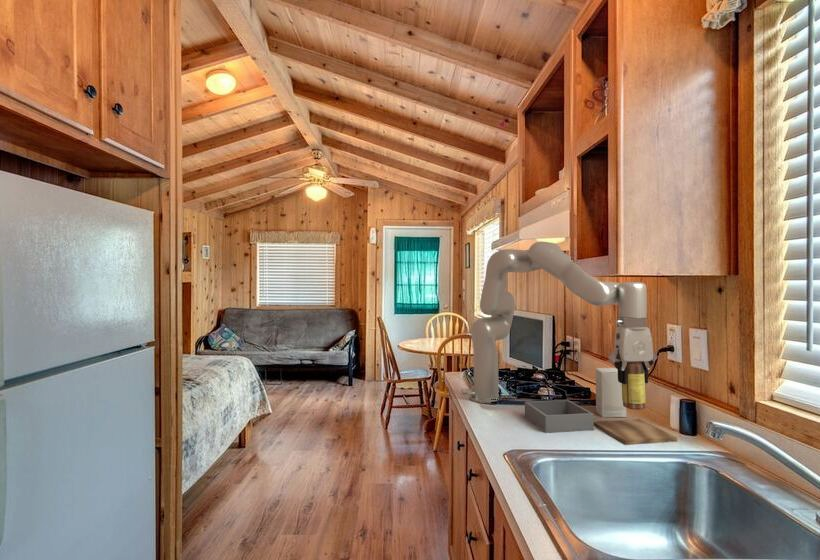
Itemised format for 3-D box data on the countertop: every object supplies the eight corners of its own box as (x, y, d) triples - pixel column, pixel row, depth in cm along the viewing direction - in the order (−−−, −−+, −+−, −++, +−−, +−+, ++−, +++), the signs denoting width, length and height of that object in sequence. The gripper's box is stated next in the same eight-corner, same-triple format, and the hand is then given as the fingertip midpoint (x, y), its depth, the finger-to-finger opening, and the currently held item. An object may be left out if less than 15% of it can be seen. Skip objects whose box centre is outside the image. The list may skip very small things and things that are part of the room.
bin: (545, 432, 129) (545, 416, 129) (524, 416, 144) (524, 401, 144) (593, 430, 131) (593, 413, 131) (567, 414, 146) (567, 399, 146)
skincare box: (619, 412, 148) (619, 367, 148) (627, 418, 142) (627, 371, 142) (594, 411, 149) (594, 367, 149) (601, 417, 143) (601, 371, 143)
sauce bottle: (649, 408, 127) (649, 341, 127) (638, 411, 124) (637, 343, 124) (628, 403, 132) (628, 339, 133) (616, 406, 129) (616, 340, 129)
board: (625, 444, 119) (625, 440, 119) (593, 425, 135) (593, 421, 135) (677, 441, 121) (677, 437, 121) (639, 422, 137) (639, 419, 137)
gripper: (613, 324, 123) (614, 386, 123) (667, 323, 126) (668, 384, 126) (598, 322, 131) (599, 380, 131) (649, 321, 133) (650, 378, 133)
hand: (632, 382), depth 128 cm, fingers closed on sauce bottle, 6 cm apart
